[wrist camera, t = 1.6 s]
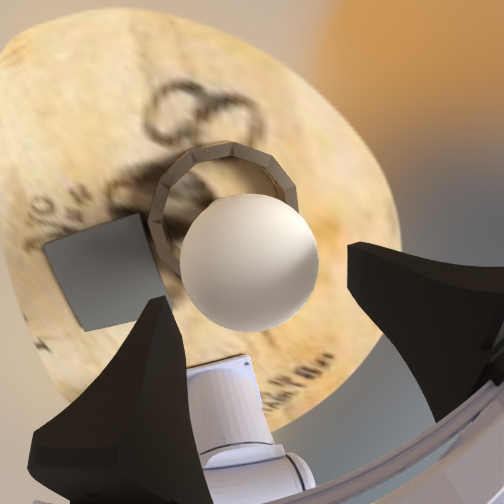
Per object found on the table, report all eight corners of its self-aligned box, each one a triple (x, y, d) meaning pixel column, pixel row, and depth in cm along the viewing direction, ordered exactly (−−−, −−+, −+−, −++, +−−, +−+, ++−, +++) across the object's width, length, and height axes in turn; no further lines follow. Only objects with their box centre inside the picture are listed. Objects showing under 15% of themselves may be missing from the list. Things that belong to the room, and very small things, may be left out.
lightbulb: (171, 246, 20) (174, 358, 10) (187, 160, 18) (199, 202, 8) (252, 257, 22) (312, 360, 12) (274, 178, 20) (367, 234, 10)
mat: (172, 307, 22) (172, 311, 21) (86, 327, 21) (85, 331, 20) (139, 212, 18) (138, 214, 18) (45, 242, 17) (42, 246, 17)
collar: (294, 255, 23) (304, 266, 21) (174, 287, 21) (174, 302, 20) (278, 131, 18) (288, 132, 17) (137, 162, 17) (132, 166, 15)
